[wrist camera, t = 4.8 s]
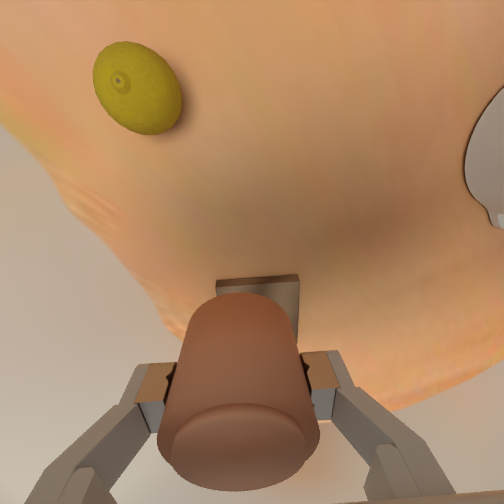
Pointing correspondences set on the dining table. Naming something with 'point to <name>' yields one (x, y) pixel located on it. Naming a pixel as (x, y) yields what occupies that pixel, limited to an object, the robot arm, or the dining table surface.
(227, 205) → the dining table surface
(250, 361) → the cap
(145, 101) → the lemon
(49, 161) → the dining table surface
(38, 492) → the robot arm
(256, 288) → the stud base
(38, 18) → the dining table surface
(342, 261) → the dining table surface
